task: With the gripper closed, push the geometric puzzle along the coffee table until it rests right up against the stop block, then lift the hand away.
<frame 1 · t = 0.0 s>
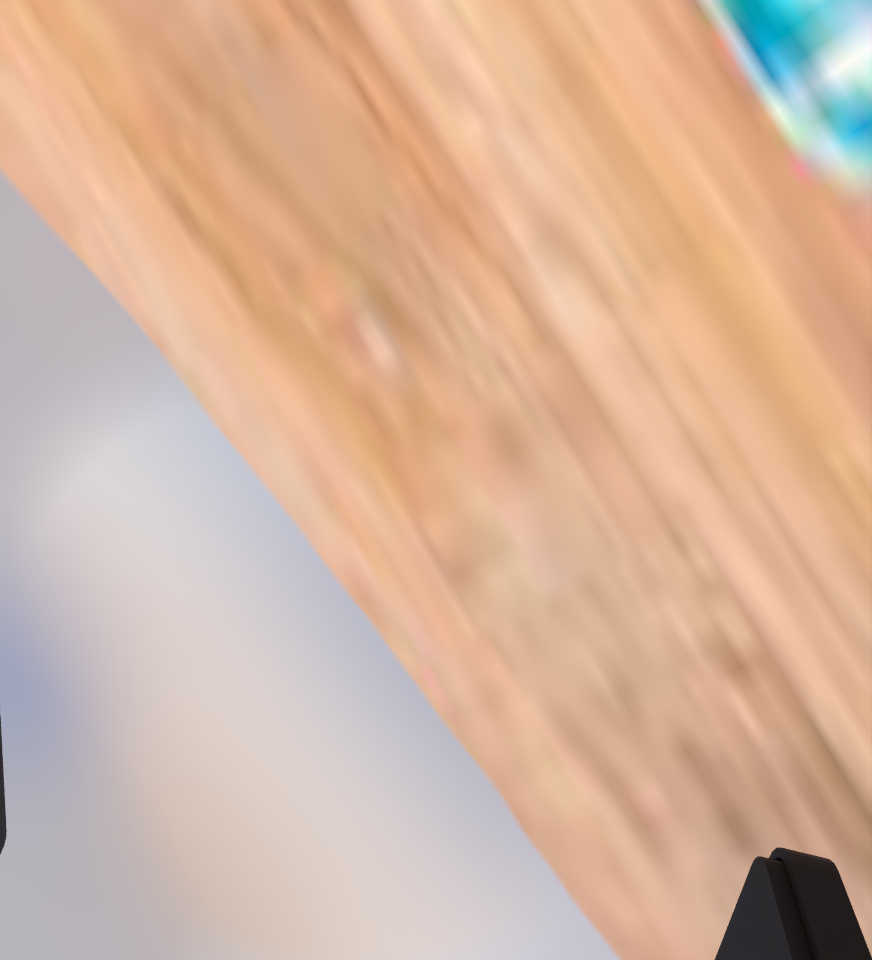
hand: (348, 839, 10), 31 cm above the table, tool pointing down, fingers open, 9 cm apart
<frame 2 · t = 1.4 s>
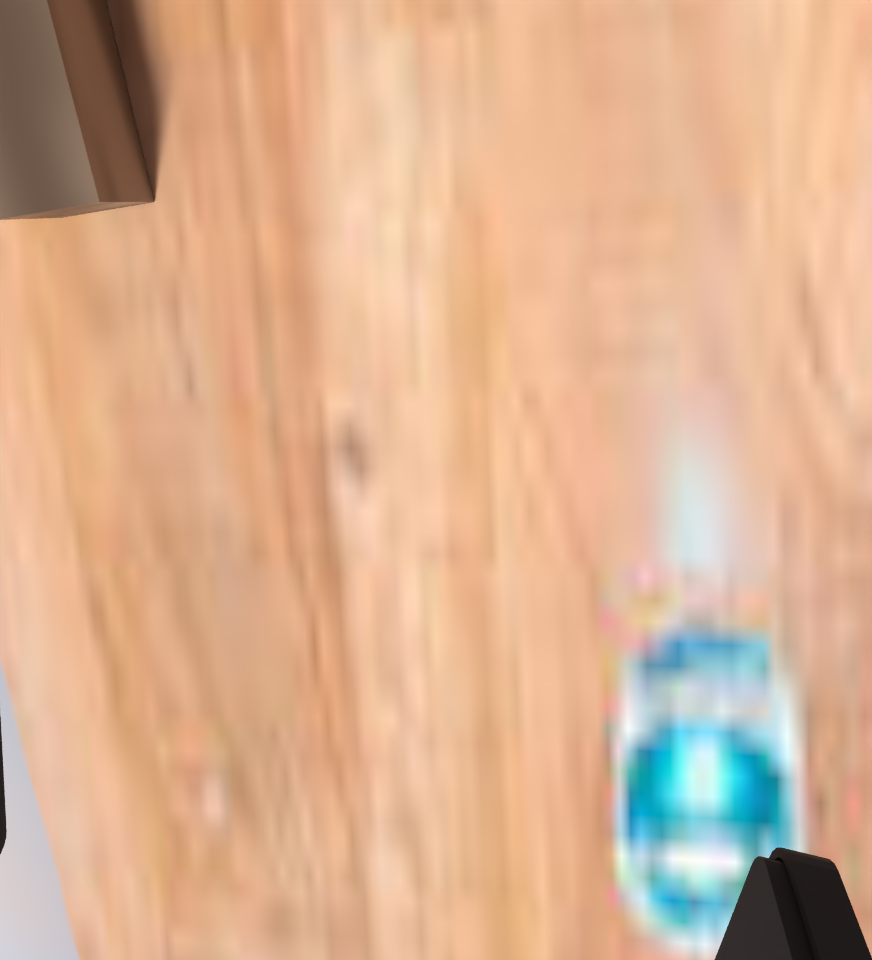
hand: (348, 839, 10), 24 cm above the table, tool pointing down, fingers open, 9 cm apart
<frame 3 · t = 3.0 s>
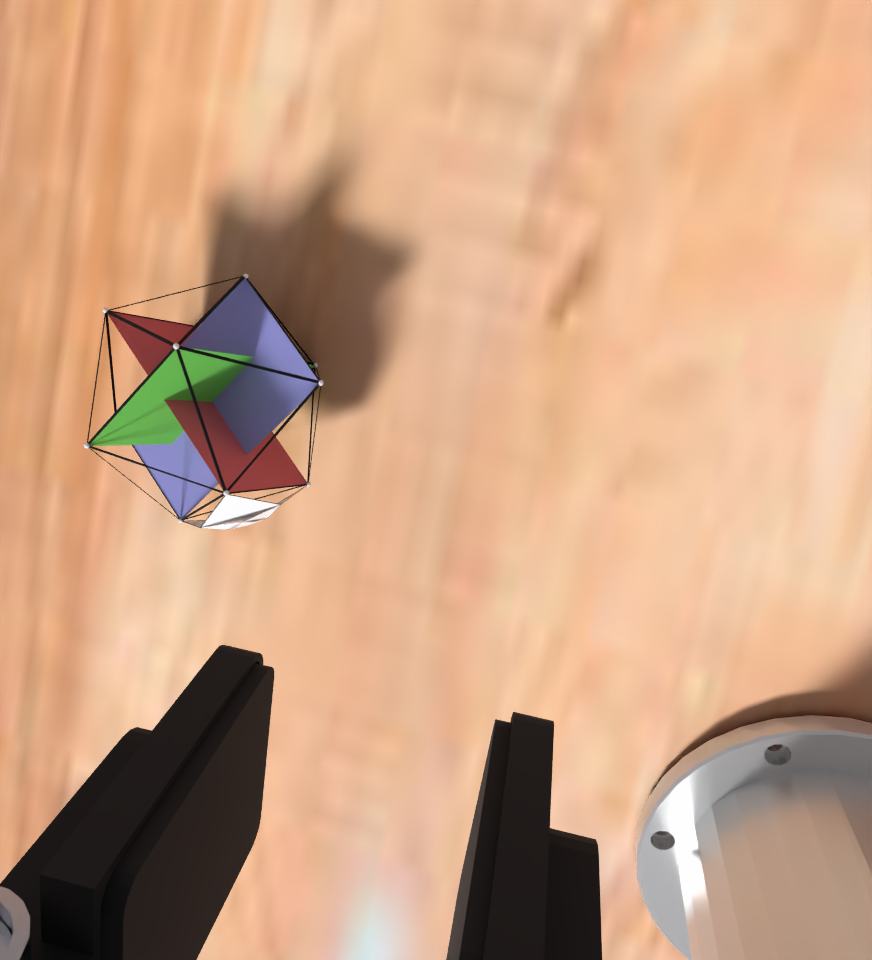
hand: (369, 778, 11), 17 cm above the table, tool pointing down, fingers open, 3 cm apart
geometric puzzle: (253, 377, 28), on the table
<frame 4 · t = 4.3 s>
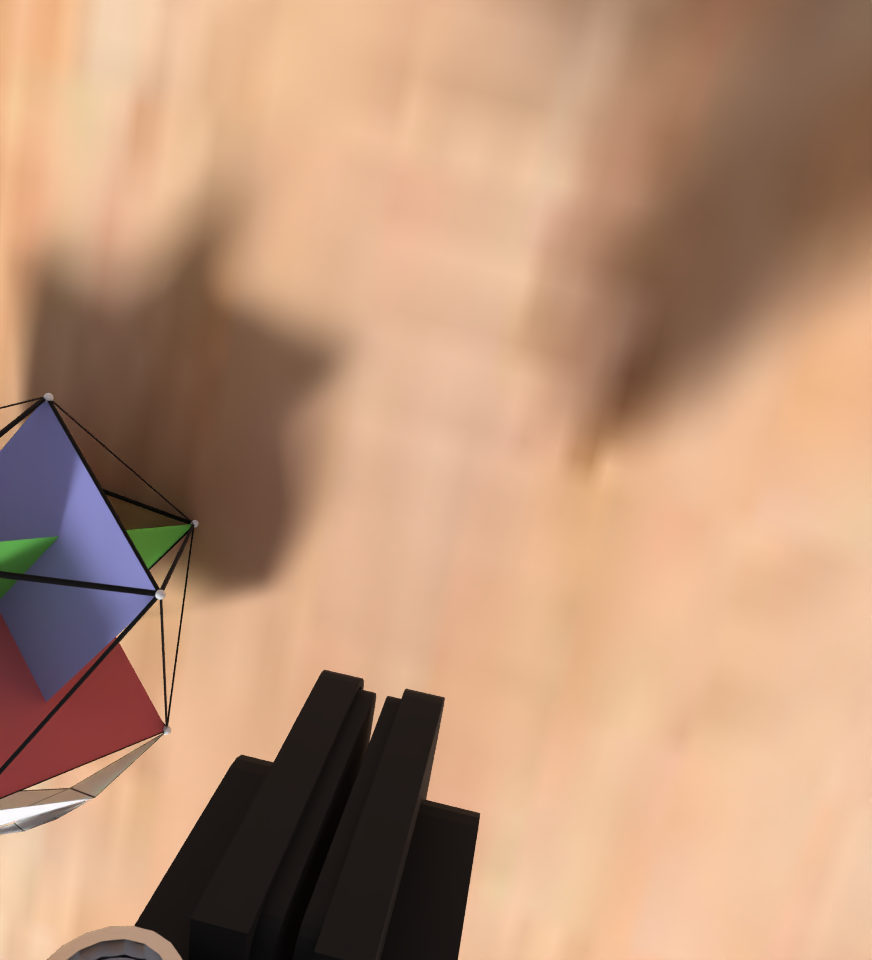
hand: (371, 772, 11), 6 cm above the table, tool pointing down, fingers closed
geometric puzzle: (103, 535, 18), on the table
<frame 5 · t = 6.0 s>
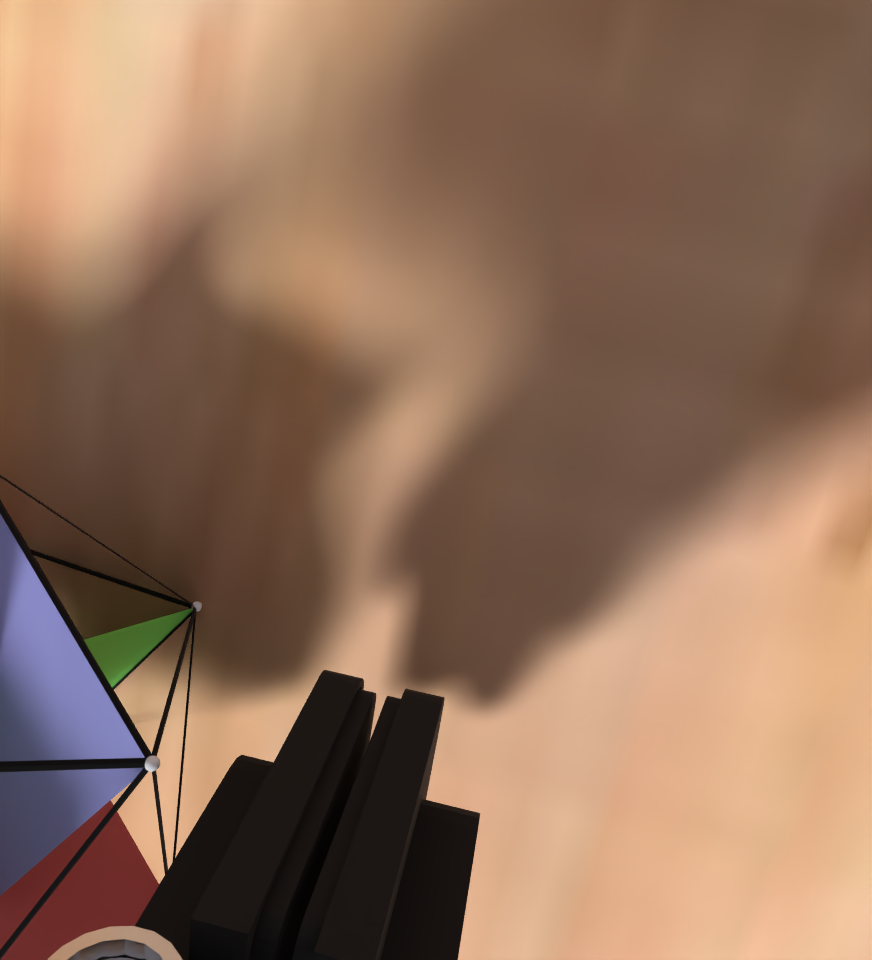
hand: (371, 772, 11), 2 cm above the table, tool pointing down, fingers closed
geometric puzzle: (74, 619, 13), on the table
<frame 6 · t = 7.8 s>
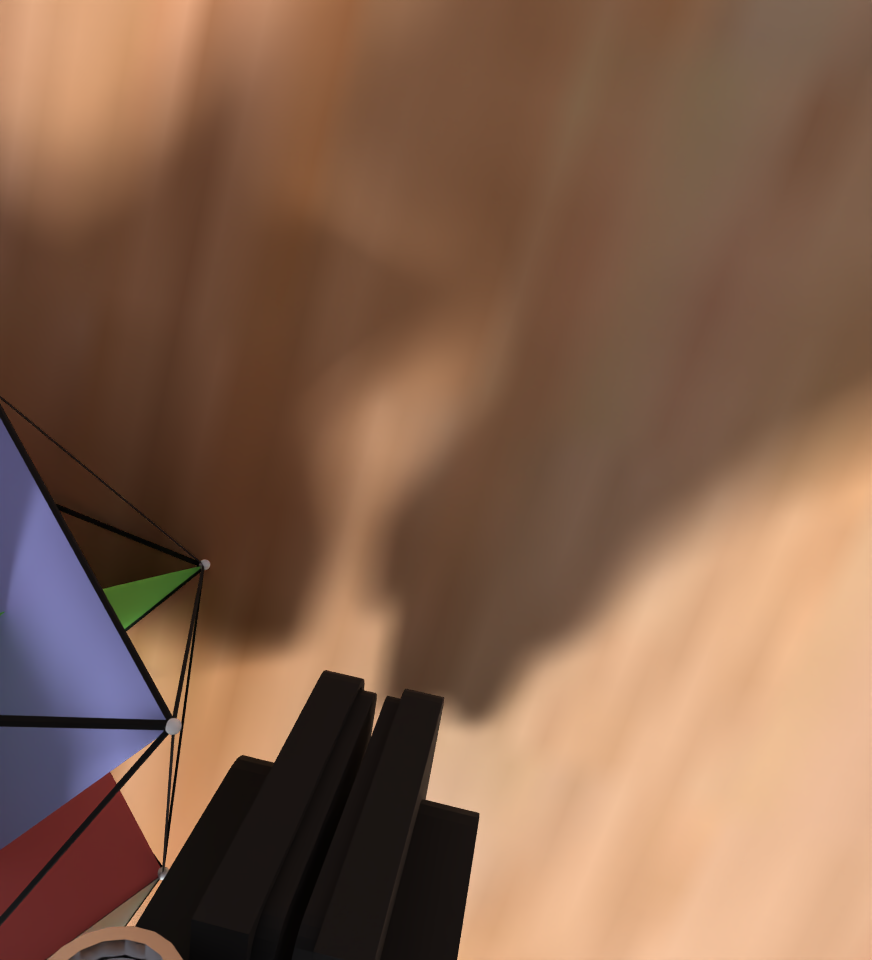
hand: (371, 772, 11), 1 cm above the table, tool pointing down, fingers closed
geometric puzzle: (70, 570, 13), on the table, touching gripper, stop block
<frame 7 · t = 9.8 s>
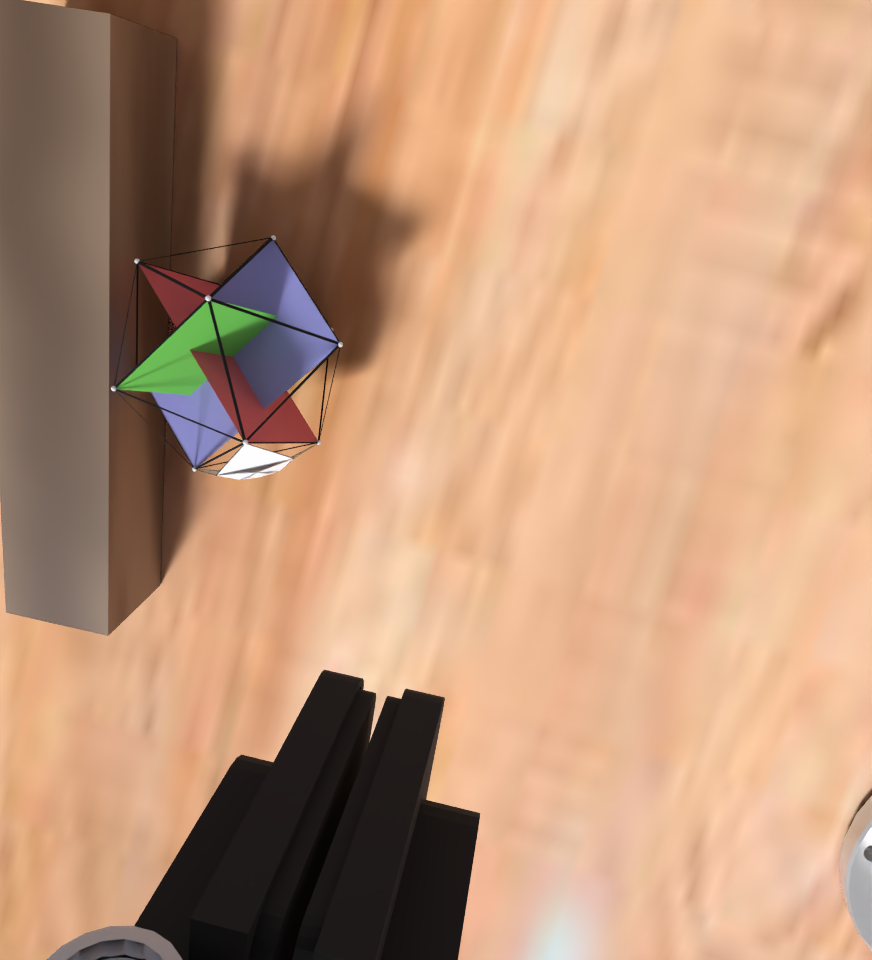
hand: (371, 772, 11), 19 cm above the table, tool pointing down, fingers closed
geometric puzzle: (269, 337, 29), on the table
stop block: (116, 335, 29), on the table
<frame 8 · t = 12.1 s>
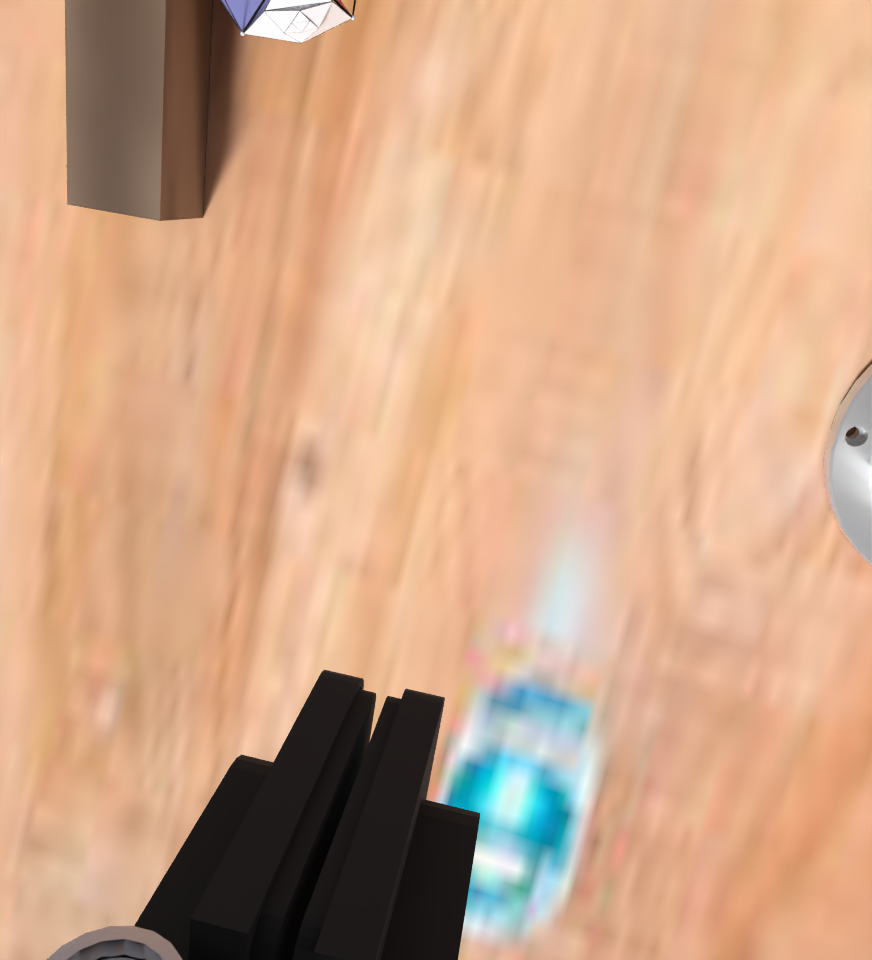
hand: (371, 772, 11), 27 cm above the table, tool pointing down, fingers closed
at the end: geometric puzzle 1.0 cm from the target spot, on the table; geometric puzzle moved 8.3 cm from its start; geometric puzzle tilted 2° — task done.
